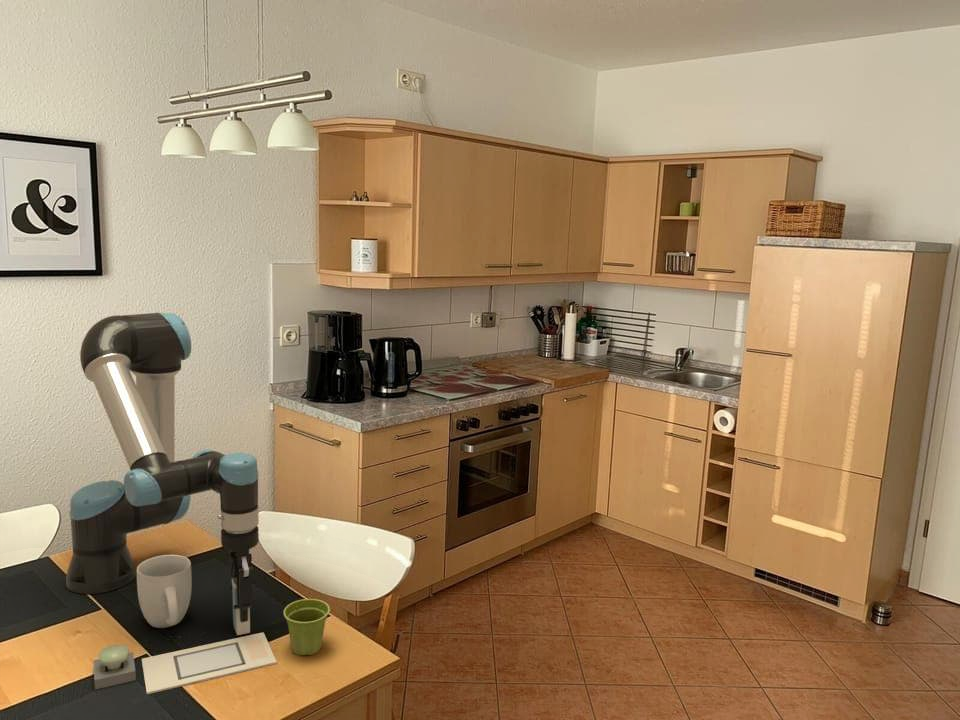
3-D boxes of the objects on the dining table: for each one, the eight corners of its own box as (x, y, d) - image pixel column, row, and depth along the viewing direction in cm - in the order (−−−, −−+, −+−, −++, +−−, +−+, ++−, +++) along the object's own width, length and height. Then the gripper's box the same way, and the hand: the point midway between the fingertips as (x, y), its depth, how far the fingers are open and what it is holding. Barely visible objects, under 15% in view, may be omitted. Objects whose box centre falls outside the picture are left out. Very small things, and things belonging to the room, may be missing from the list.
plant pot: (339, 644, 158) (339, 607, 156) (307, 666, 150) (307, 627, 148) (306, 631, 163) (306, 594, 161) (274, 651, 155) (273, 613, 153)
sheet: (141, 660, 149) (141, 658, 149) (263, 633, 161) (263, 632, 161) (146, 694, 139) (146, 692, 139) (276, 663, 150) (276, 661, 150)
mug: (202, 634, 160) (200, 577, 157) (146, 648, 154) (144, 589, 151) (186, 603, 172) (184, 550, 169) (134, 615, 166) (132, 560, 163)
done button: (99, 665, 145) (98, 648, 145) (128, 659, 148) (127, 642, 147) (99, 680, 141) (98, 662, 140) (130, 673, 143) (129, 656, 143)
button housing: (94, 669, 146) (93, 660, 145) (133, 661, 149) (132, 651, 149) (94, 689, 140) (94, 680, 139) (135, 680, 143) (135, 670, 143)
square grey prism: (232, 629, 162) (231, 578, 160) (247, 626, 163) (246, 575, 161) (235, 636, 159) (234, 584, 157) (250, 633, 161) (249, 581, 159)
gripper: (214, 515, 162) (217, 615, 166) (228, 545, 148) (230, 652, 153) (250, 510, 166) (251, 608, 170) (266, 538, 152) (267, 643, 156)
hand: (241, 628), depth 161 cm, fingers closed on square grey prism, 3 cm apart
